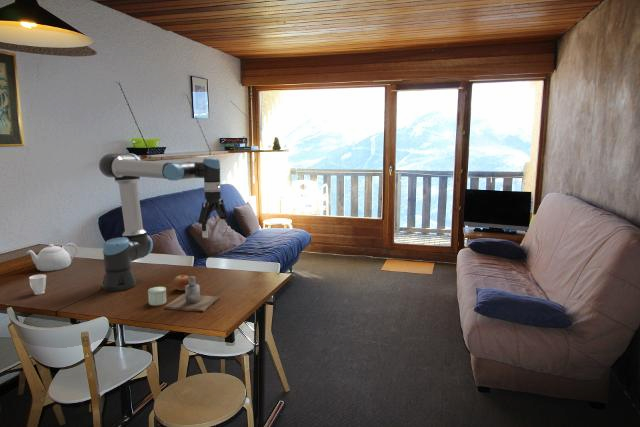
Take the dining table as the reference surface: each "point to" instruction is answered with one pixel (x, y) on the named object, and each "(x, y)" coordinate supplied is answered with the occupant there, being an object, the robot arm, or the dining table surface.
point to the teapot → (52, 258)
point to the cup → (38, 283)
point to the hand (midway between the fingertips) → (214, 234)
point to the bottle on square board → (192, 299)
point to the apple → (181, 282)
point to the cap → (157, 295)
